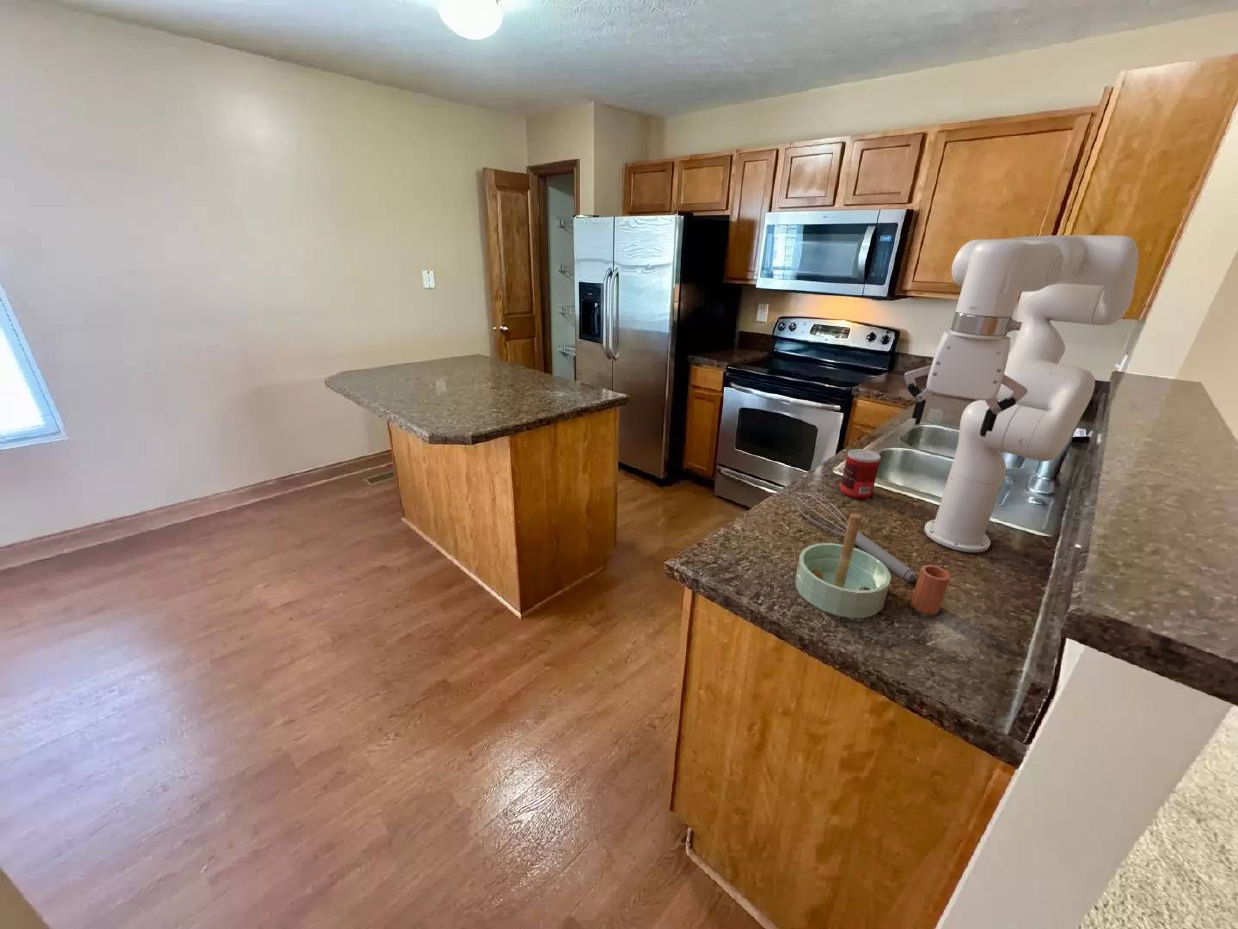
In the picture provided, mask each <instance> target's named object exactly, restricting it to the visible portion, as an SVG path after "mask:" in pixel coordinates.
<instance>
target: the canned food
mask: <svg viewBox="0 0 1238 929" xmlns="http://www.w3.org/2000/svg"><path fill="white" fill-rule="evenodd" d="M881 458H882V456H881V455H880V454H879V453H878V452H875V451H873V450H870V449H865V448H853V449H849V450H848V452H847V455H846V458H845V463H844V469H843V473H842V478H841V483H840V492H841V493H842V494H843V495H844V496H846V497H849V498H850V499H851V498H852V499H857V500H865V499H866V500H867V499H869V498H870V497H871V496H872V494H873V491H874V488H875V483H876V479H877V475H878V471H879V467H880V463H881V460H882V459H881Z"/></svg>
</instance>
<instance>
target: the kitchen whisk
mask: <svg viewBox="0 0 1238 929" xmlns="http://www.w3.org/2000/svg"><path fill="white" fill-rule="evenodd" d="M809 493H810V491H808V492H804V493H802V494H801V496H797V499H798V500H797V501H796V504H798V503H802V504H803V505H804V507H805V508H806V509H807V510H808V512H809V513H810V514H812V512H811V511H814V513H816V514H818V515H819V516H820V517H821V518H824V519H825V520H827V521H828V522H830V523H831V524H833V525H834V526H836V527H837V528H839V529H840V530H842V531H843V532H842V531H840V530H838V529H832V526H831V525H830V524H828V523H826V522H825V521H823V520H821V519H820V518H819V517H818V516H816V515H815V514H813V516H814V518H816V519H817V520H819V521H820V522H822V523H823V524H825V525H823V524H822V523H819V522H818V521H816V520H814V519H813V518H811V517H810V516H808V515H806V514H805V513H803V510H802V509H801V508H800V507H799V505H796V507H797V509H798V511H800V513H801V514H802V515H803V516H804V517H805V519H807V520H808V521H809V522H811V523H813V524H814V525H815V526H818V528H819V527H820V528H822V529H824V530H825V531H828V532H830V533H833V534H836V535H839V536H841V537H844V538H845V534H846V530H845V529H843V528H842V527H840V526H838V525H837V524H835V523H834V522H833V521H831V520H829V519H828V518H827V517H824V516H823V515H821V514H820V513H819V512H817V511H816V510H814V509H812V508H811V507H810V506H808V504H806V503H805V502H804V500H806V501H808V502H810V503H812V504H813V505H815V506H816V507H818V508H819V509H821V510H823V511H824V512H826V513H827V514H828V515H830V516H831V517H832V518H833V519H834V520H835V521H837V522H838V523H840V524H841V525H842V526H843V527H844V528H847V525H846V523H844V522H843V521H842V519H840V518H839V517H838V515H836V514H835V513H834V512H832V510H830V509H829V507H827V506H826V505H824V503H822V502H821V501H820V500H818V499H817V498H819V499H821V500H823V501H825V502H826V503H828V504H829V505H830V506H832V507H833V508H834V509H835V510H836V512H838V513H839V514H840V515H841V516H842V517H843V519H844V520H845V521H846V522H847V523H848V521H849V520H847V519H846V518H845V516H844V515H843V513H841V511H840V510H839V509H838V508H837V507H836V506H835V505H834V504H833V503H832V502H830V500H827V498H826V497H825V496H824V495H822V494H820V493H819V492H816V491H813V493H815V494H817V495H813V494H809ZM818 495H819V496H818ZM820 496H821V497H820ZM806 497H812V498H813V499H814V500H816V501H817V502H818V503H820V504H821V505H823V507H824V508H826V509H827V510H829V512H830V513H832V514H830V513H829V512H828V511H826V510H825V509H824V508H822V507H821V506H819V505H818V504H816V503H815V502H813V501H812V500H810V499H808V498H806ZM816 497H817V498H816ZM808 508H809V509H810V510H809V509H808ZM833 515H834V516H833ZM826 525H827V526H826ZM854 546H857V547H858V549H860V550H862V551H864V552H866V553H868V554H870V555H872V556H874V557H875V558H876V559H878V560H879V561H881V562H882V563H883V564H884V565H885V566H886V568H887V569H888V570H889V572H892V573H893V574H894V575H895V576H896V577H898V578H899V579H901V580H903V581H905V582H906V583H910V582H913V581H915V580H916V579H917V580H918V574H917V573H916V572H914V569H912V568H910V567H909V566H908V565H906V564H905V563H904V562H903V561H901V560H899V559H898V558H897V557H896V556H894V555H892V554H891V553H890V552H888V551H887V550H885V549H884V548H883V547H881V546H880V545H878V543H876V542H874V541H873V540H871V539H870V538H869V537H867V536H865V534H863V533H862V532H860V531H859V530H858V532H857V536H856V540H855V544H854Z"/></svg>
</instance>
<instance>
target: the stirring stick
mask: <svg viewBox="0 0 1238 929" xmlns="http://www.w3.org/2000/svg"><path fill="white" fill-rule="evenodd" d="M861 519H862V515H860V514H859V513H855V512H851V513H850V514H849V518H848V520H847V521H848V522H847V525H846V526H847V527H846V530H845V531H846V532H845V534H844V536H845V537H844V538H843V544H842V545H843V547H842V551H841V555H840V560H839V564H838V568H837V573H836V577H835V581H834V585H835V586H838V587H841V588H844V586H845V581H846V577H847V573H848V569H849V565H850V561H851V557H852V553H853V549H854V548H855V540H856V536H857V532H858V531H859V527H860V524H861V521H862V520H861Z"/></svg>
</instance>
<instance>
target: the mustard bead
mask: <svg viewBox="0 0 1238 929" xmlns="http://www.w3.org/2000/svg"><path fill="white" fill-rule="evenodd" d="M811 572H812V573H813V574H814V575H815V576H816V577H818V578H820V579H823V573H822V572H821V571H820V570H818V569H814V570H812V571H811Z"/></svg>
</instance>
